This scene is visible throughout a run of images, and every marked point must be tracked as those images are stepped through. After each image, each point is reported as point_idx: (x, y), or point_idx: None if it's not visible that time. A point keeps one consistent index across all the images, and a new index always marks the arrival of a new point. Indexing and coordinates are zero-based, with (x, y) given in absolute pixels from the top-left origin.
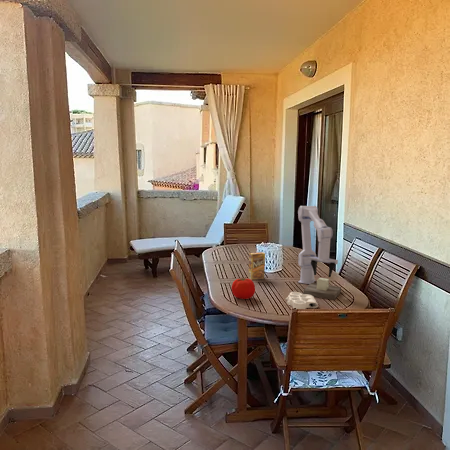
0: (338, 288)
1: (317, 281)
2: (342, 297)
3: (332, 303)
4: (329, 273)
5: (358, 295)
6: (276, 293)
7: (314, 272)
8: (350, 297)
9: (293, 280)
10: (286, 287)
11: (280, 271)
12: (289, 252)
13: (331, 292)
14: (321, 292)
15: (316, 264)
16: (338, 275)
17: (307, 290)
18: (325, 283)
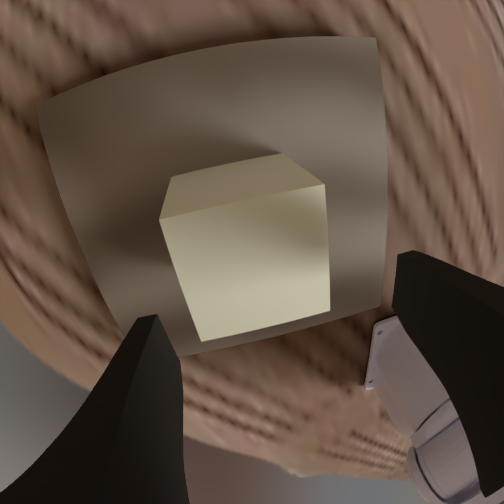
0: (127, 322)
1: (308, 177)
2: (48, 220)
3: (38, 13)
4: (128, 362)
5: (29, 334)
6: (482, 2)
7: (440, 266)
8: (21, 264)
9: None
10: (486, 159)
11: None
12: None
13: (96, 159)
14: (181, 72)
15: (489, 427)
16: (289, 471)
17: (341, 44)
18: (179, 200)
